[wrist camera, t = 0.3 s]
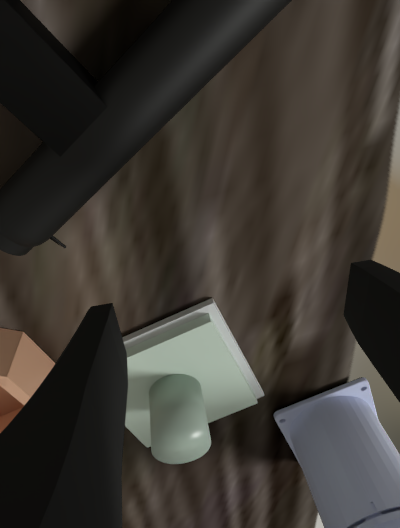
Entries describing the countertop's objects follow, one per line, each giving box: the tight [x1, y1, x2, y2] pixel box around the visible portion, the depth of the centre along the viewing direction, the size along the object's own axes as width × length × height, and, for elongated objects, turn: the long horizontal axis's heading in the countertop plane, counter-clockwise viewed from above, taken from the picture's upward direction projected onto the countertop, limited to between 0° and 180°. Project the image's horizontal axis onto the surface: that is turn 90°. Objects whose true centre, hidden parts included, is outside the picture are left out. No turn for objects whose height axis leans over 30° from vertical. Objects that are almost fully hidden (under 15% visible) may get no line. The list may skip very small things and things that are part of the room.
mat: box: [122, 298, 265, 445], centre depth 27 cm, size 10×10×1 cm
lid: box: [125, 313, 258, 464], centre depth 24 cm, size 9×9×5 cm
